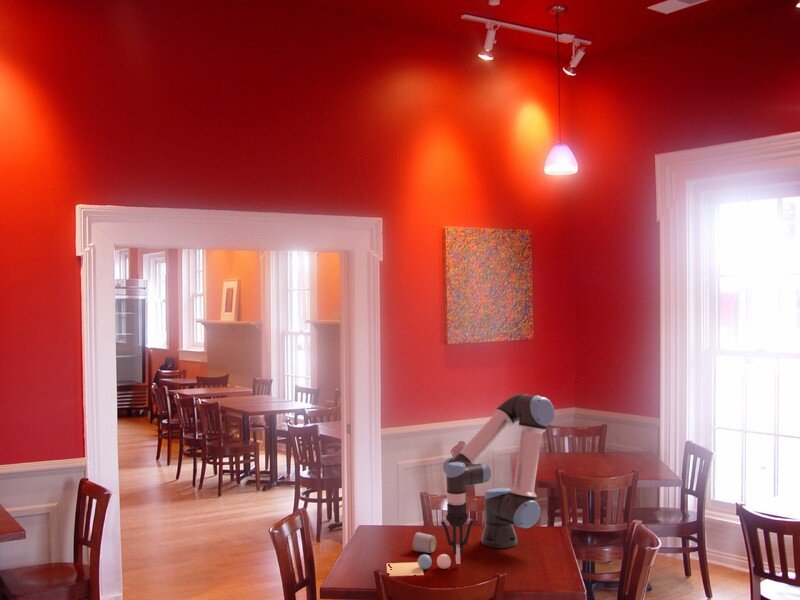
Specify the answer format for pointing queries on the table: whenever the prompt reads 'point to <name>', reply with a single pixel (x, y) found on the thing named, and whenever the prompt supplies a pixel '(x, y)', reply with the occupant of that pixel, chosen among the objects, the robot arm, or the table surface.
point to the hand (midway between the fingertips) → (458, 562)
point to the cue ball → (443, 561)
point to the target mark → (404, 569)
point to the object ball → (424, 561)
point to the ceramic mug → (424, 543)
